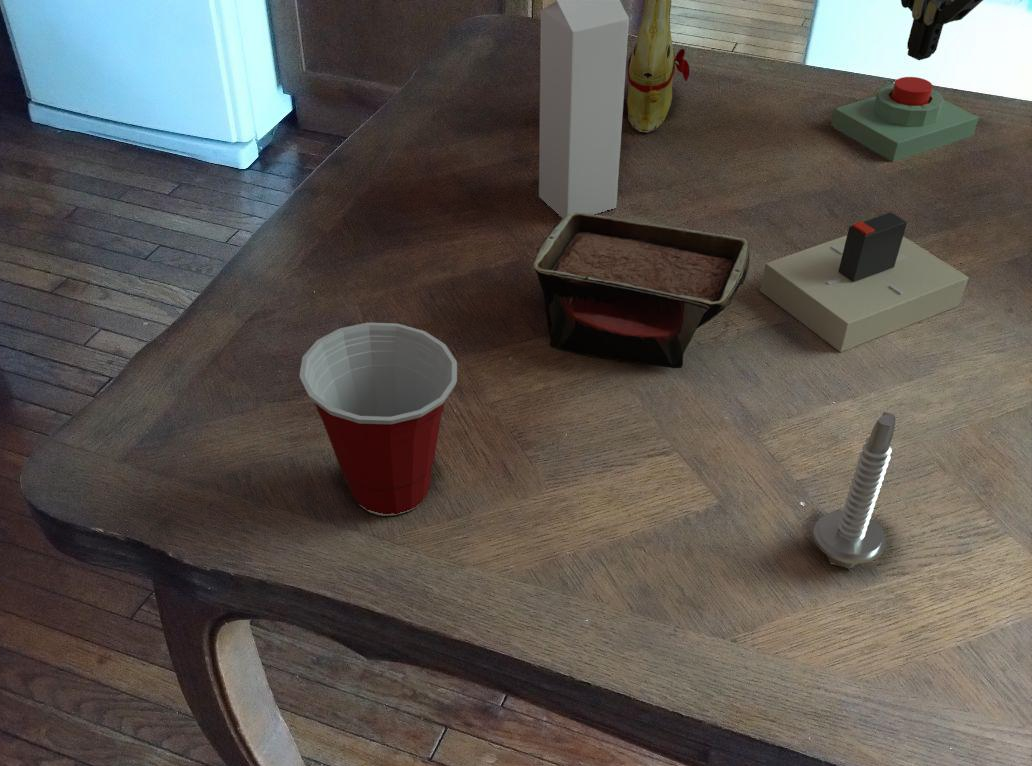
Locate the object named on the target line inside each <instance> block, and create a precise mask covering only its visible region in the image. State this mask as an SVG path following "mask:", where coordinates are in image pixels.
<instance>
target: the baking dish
mask: <svg viewBox="0 0 1032 766" xmlns="http://www.w3.org/2000/svg"><path fill="white" fill-rule="evenodd" d="M750 247H751V246H750V242H749V241H748V239H747V238H745V237H739V236H731V235H727V234H720V233H714V232H713V233H712V232H707V231H700V230H694V229H686V228H680V227H675V226H673V227H672V226H668V225H663V224H657V223H652V222H651V223H650V222H644V221H640V220H630V219H625V218H621V217H613V216H607V215H600V214H596V215H594V214H588V213H573V214H569V215H568V216H566V217H564V218H563V219H562V218H561V219H560V220H559V221H558V222H557V223H555V224H554V225H553V226H552V229H551V230H550V231H549V233H548V235H547V236H545V238H543V240H542V241H541V244H540V246H539V247H537V248H536V256H535V257H534V259H533V262H532V267H533V268H532V269H534V271H535V273H536V275H537V278H538V282H539V285H540V290H541V293H542V297H543V302H544V304H543V305H544V309H545V316H546V317H545V318H546V322H547V329H548V336H549V347H552V348H555V349H557V350H561V351H566V352H570V353H575V354H581V355H585V356H590V357H595V358H603V359H609V360H616V361H621V362H622V361H623V362H626V363H627V362H628V363H635V364H639V365H647V366H655V367H662V368H668V369H669V368H670V369H682V368H683V366H684V354H685V352H686V350H687V348H688V346H689V344H690V342H691V340H692V338H693V337H694V335H695V332H696V331H697V329H698V328H700V327H702V326H704V324H706V323H707V322H709V321H710V320H712V319H713V318H715V317H716V316H717V315H719V314H720V313H721V312H722V311H723V310H725V309H726V308H727V307H728V306H729V305H730V304H731V302H732V300H733V298H734V296H735V295H736V294H737V292H738V290H739V288H740V287H741V286H742V285H744V282H745V280H746V278H747V276H748V275H747V274H748V272H749V268H750V250H751V249H750Z"/></svg>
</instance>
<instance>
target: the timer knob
mask: <svg viewBox="0 0 1032 766" xmlns="http://www.w3.org/2000/svg"><path fill="white" fill-rule="evenodd" d="M907 224H908V222H907V221H906V220H905V219H903V218H901V217H900V216H898V215H896V214H894V213H893V212H888V213H884V214H882V215H879V216H876V217H873V218H870V219H868V220H864V221H858V222H854V223H852V225H850V226H849V227H848V230H847V233H846V235H847V238H846V242H845V246H844V250H843V254H842V258H841V262H840V267H839V271H838V272H839V273H841V274H842V275H844V276H845V277H847V278H848V279H849V280H851V281H852V282H855V281H858V280H861V279H863V278H866V277H869V276H872V275H874V274H877V273H880V272H883V271H885V270H888V269H891V268H894V266H895V263H896V259H897V256H898V252H899V249H900V245H901V242H902V238H903V236H904V234H905V231H906V228H907Z"/></svg>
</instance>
